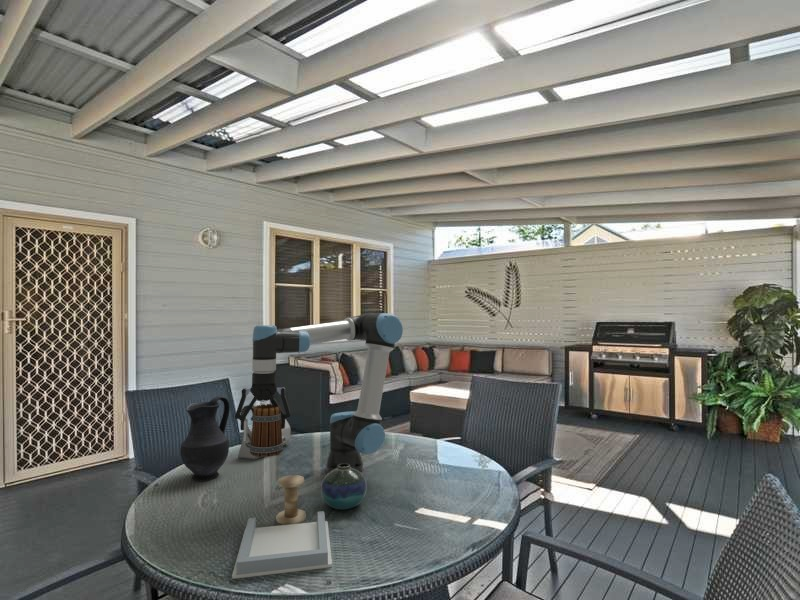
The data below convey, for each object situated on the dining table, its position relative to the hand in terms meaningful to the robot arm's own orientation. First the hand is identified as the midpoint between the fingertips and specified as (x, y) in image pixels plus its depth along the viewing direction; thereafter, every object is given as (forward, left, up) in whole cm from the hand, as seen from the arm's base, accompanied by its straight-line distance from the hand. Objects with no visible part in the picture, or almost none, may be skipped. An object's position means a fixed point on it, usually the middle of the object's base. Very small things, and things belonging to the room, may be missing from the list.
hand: (262, 439), depth 150 cm
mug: (+1, 0, -4) cm, 4 cm away
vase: (-26, +3, -23) cm, 35 cm away
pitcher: (+24, -36, -23) cm, 48 cm away
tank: (+3, -62, -23) cm, 66 cm away
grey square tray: (-8, +27, -23) cm, 36 cm away
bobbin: (-9, +9, -23) cm, 26 cm away
